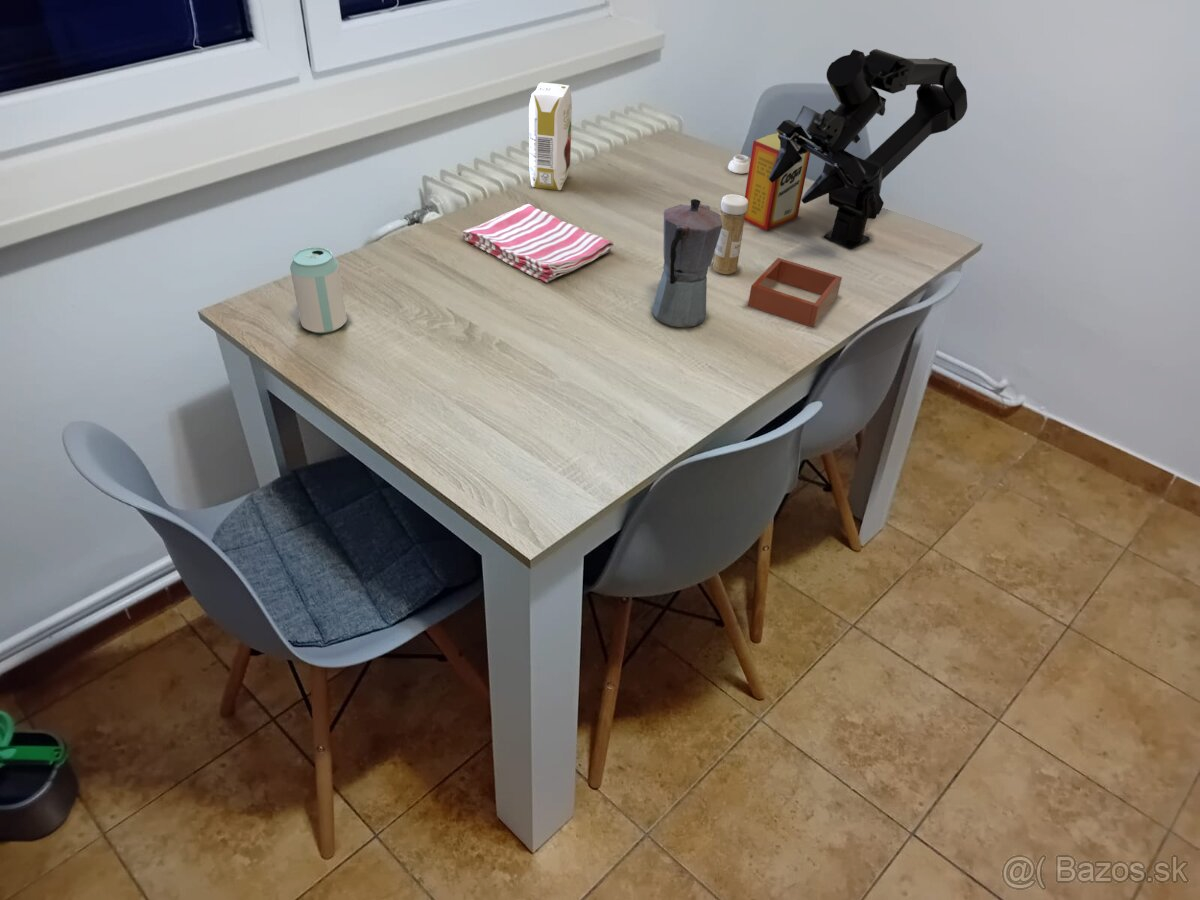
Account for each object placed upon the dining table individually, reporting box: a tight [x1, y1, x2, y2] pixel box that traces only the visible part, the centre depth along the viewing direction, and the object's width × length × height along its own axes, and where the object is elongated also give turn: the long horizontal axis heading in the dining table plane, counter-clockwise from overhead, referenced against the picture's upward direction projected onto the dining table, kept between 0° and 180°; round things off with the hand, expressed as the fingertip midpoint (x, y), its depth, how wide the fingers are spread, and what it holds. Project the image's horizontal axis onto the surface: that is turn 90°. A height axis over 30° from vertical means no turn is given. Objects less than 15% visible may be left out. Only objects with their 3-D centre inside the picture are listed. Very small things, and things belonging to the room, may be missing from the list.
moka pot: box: [651, 198, 722, 328], centre depth 144 cm, size 10×15×20 cm, turn 161°
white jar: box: [727, 153, 750, 175], centre depth 197 cm, size 5×3×5 cm
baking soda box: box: [744, 132, 811, 232], centre depth 175 cm, size 10×6×16 cm
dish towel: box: [461, 203, 615, 283], centre depth 166 cm, size 17×23×4 cm
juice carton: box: [528, 81, 573, 191], centre depth 182 cm, size 8×9×19 cm
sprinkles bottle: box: [712, 193, 748, 275], centre depth 159 cm, size 5×5×14 cm
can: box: [289, 246, 348, 334], centre depth 140 cm, size 7×7×12 cm
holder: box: [747, 257, 843, 328], centre depth 155 cm, size 12×12×4 cm
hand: (786, 191), depth 158 cm, fingers open, 9 cm apart
